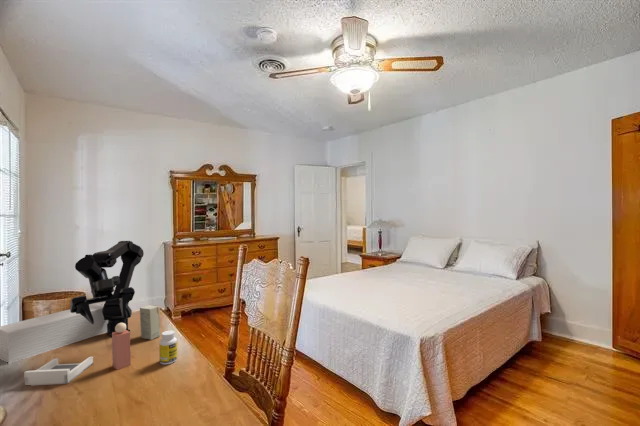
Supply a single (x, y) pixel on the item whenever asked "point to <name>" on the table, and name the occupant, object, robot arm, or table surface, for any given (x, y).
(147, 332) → the skincare box
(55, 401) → the table surface
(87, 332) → the ridged white long block
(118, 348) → the foosball player
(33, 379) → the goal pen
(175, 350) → the supplement bottle
